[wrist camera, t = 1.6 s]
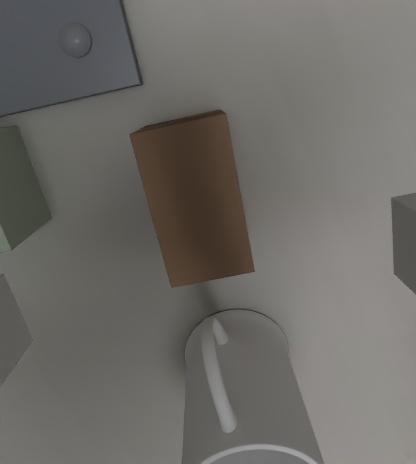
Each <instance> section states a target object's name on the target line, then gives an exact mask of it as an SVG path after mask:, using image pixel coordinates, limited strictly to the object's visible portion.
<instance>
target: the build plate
mask: <svg viewBox="0 0 416 464" xmlns="http://www.w3.org/2000/svg"><path fill="white" fill-rule="evenodd" d="M142 84H143V82H142V78H141V74H140V70H139V66H138V62H137V58H136V54H135V50H134V46H133V42H132V38H131V34H130V31H129V27H128V23H127V19H126V15H125V11H124V7H123V3H122V0H0V117H1V116H6V115H10V114H15V113H19V112H23V111H28V110H32V109H37V108H41V107H45V106H50V105H54V104H59V103H63V102H67V101H72V100H76V99H81V98H85V97H89V96H94V95H98V94H102V93H107V92H111V91H116V90H120V89H124V88H129V87H133V86H138V85H142Z"/></svg>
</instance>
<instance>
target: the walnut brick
mask: <svg viewBox="0 0 416 464" xmlns="http://www.w3.org/2000/svg"><path fill="white" fill-rule="evenodd" d="M130 138H131V142H132V146H133V149H134V153H135V157H136V160H137V164H138V168H139V171H140V175H141V178H142V182H143V186H144V189H145V193H146V197H147V200H148V204H149V208H150V211H151V215H152V219H153V222H154V226H155V229H156V233H157V237H158V240H159V244H160V248H161V251H162V255H163V259H164V262H165V266H166V270H167V273H168V277H169V281H170V284H171V288H173V287H178V286H183V285H188V284H193V283H198V282H204V281H209V280H214V279H219V278H224V277H230V276H235V275H240V274H245V273H250V272H255V271H254V265H253V260H252V254H251V249H250V243H249V238H248V232H247V227H246V221H245V216H244V211H243V205H242V200H241V194H240V189H239V183H238V178H237V172H236V167H235V161H234V156H233V150H232V145H231V139H230V134H229V128H228V123H227V117H226V113H224V112H223V111H221V110H217V111H212V112H208V113H203V114H198V115H194V116H189V117H185V118H180V119H176V120H171V121H167V122H162V123H157V124H153V125H148V126H145V127H143V128H141V129H139V130H137V131H136V132H134V133H132V134H130Z"/></svg>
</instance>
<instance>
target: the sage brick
mask: <svg viewBox="0 0 416 464" xmlns="http://www.w3.org/2000/svg"><path fill="white" fill-rule="evenodd" d="M50 219H51V215H50V212H49V210H48V207H47V204H46V202H45V199H44V196H43V194H42V191H41V188H40V186H39V183H38V180H37V178H36V175H35V172H34V170H33V167H32V164H31V162H30V159H29V156H28V154H27V151H26V148H25V146H24V143H23V141H22V138H21V135H20V133H19V130H18V127H17V126H12V127H6V128H0V253H1V252H6V251H11V250H13V249H14V248H15V247H16V246H17V245H19V244H20V243H21V242H22V241H24V240H25V239H26V238H27V237H29V236H30V235H31V234H32V233H34V232H35V231H36V230H37V229H39V228H40V227H41V226H42V225H44V224H45V223H46V222H47V221H48V220H50Z"/></svg>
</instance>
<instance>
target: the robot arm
mask: <svg viewBox="0 0 416 464" xmlns="http://www.w3.org/2000/svg"><path fill="white" fill-rule="evenodd" d="M391 205H392V233H393V261H394V274H395V275H396V276H397V277H398V278H399V279H400V280H401V281H402V282H403V283H404V284H405V285H406V286H407V287H409V288H410V289H411V290H412V291H413V292H414V293H415V294H416V193H412V194H407V195H402V196H397V197H392V198H391ZM32 341H33V338H32V336H31V334H30V332H29V329H28V327H27V325H26V323H25V321H24V318H23V316H22V314H21V312H20V309H19V307H18V305H17V303H16V301H15V298H14V296H13V294H12V292H11V290H10V287H9V285H8V283H7V281H6V278H5V276H4V274H2V275H0V386H1V385H2V383H3V382H4V381H5V379H6V378H7V376H8V375H9V373H10V372H11V371H12V369H13V368H14V366H15V365H16V364H17V362H18V361H19V359H20V358H21V356H22V355H23V354H24V352H25V351H26V349H27V348H28V346H29V345H30V344H31V342H32Z"/></svg>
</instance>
